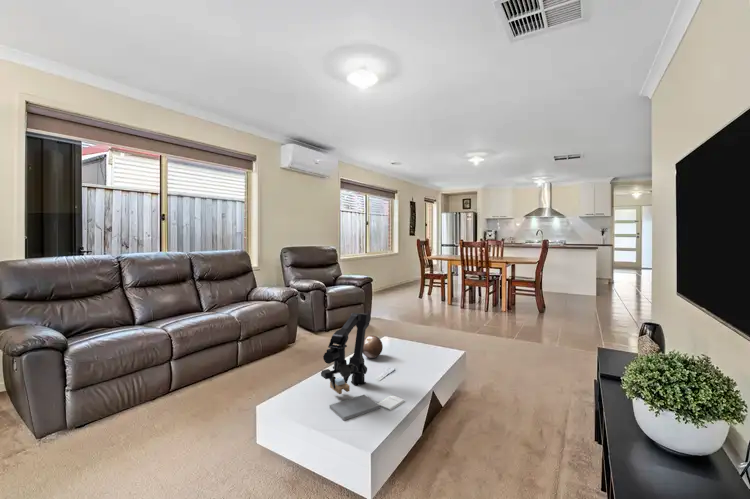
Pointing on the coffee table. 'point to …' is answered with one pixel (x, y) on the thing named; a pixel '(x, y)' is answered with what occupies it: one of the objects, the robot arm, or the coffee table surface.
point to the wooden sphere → (372, 347)
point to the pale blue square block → (339, 381)
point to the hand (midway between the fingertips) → (339, 387)
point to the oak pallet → (340, 388)
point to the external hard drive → (390, 402)
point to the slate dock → (354, 407)
